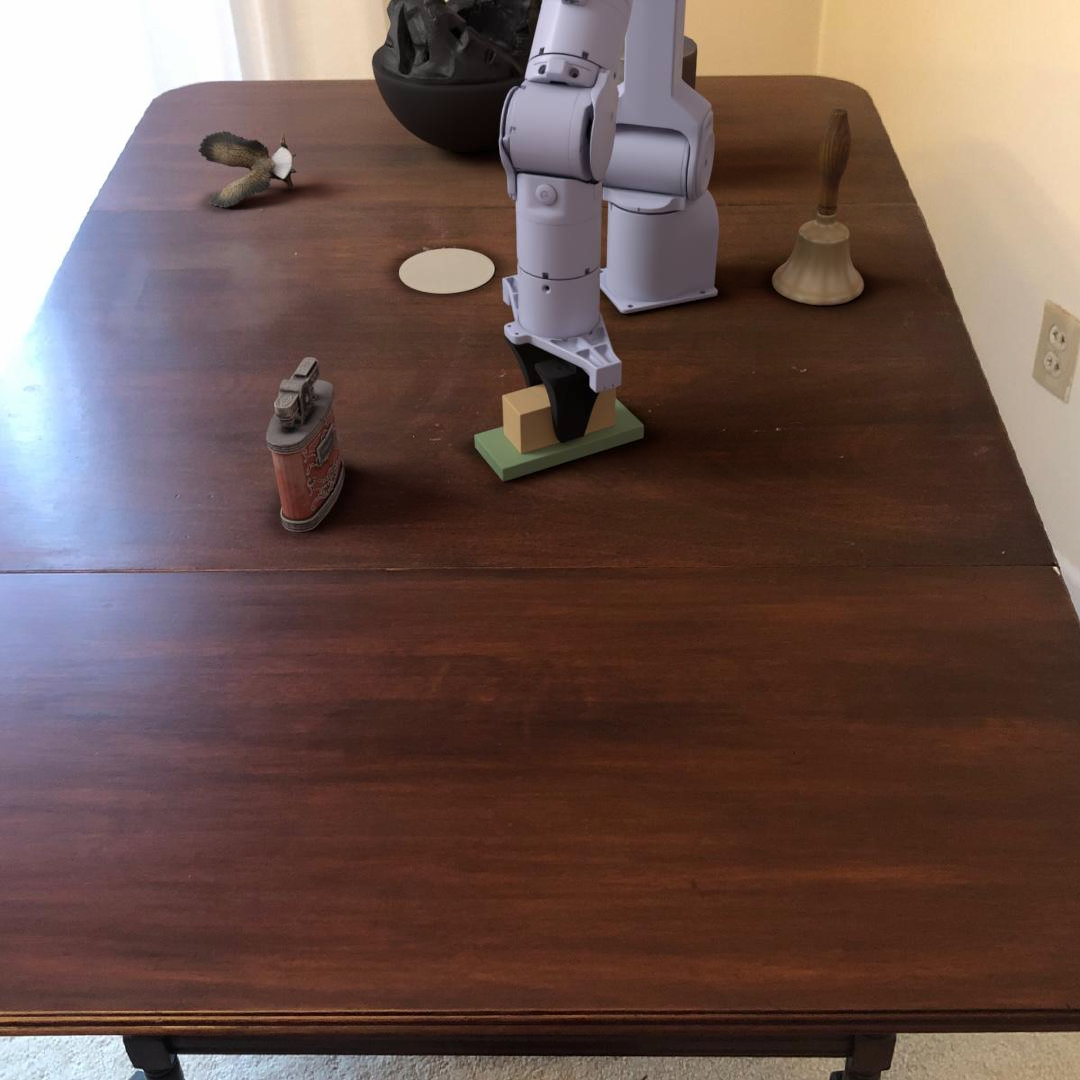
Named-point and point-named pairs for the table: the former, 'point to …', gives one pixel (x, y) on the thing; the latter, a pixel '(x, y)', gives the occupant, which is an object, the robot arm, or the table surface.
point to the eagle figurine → (246, 165)
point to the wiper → (551, 433)
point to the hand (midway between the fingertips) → (559, 425)
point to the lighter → (305, 448)
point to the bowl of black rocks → (454, 66)
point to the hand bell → (824, 233)
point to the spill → (446, 271)
